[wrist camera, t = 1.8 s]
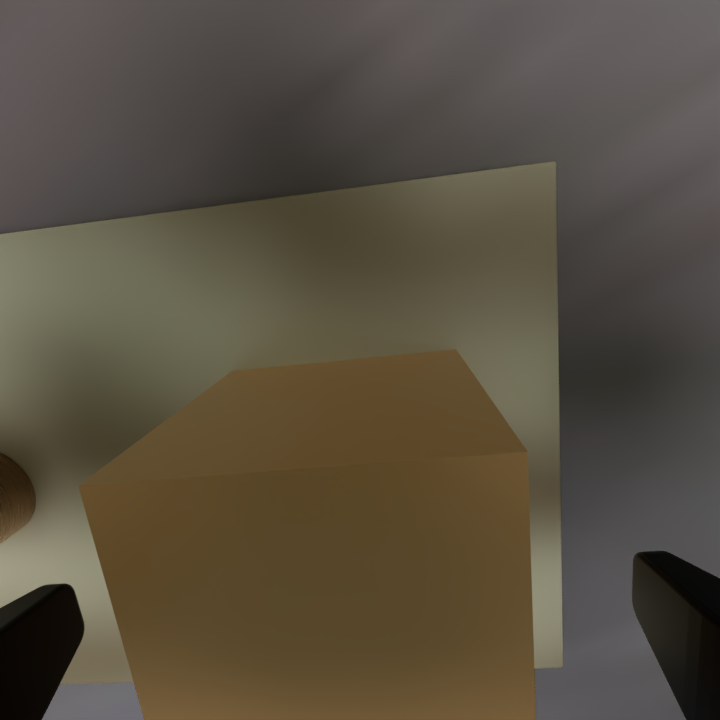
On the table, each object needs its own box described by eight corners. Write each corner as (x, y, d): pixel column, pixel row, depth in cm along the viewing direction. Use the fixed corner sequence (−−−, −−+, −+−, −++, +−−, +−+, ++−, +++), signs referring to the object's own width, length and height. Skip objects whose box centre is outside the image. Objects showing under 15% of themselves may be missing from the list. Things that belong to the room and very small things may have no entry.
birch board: (550, 636, 13) (562, 667, 12) (-63, 661, 15) (-95, 689, 14) (539, 169, 10) (556, 161, 9) (-221, 268, 12) (-274, 270, 11)
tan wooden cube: (469, 551, 12) (538, 807, 6) (267, 563, 12) (170, 810, 7) (456, 349, 10) (527, 450, 5) (232, 371, 11) (78, 485, 5)
